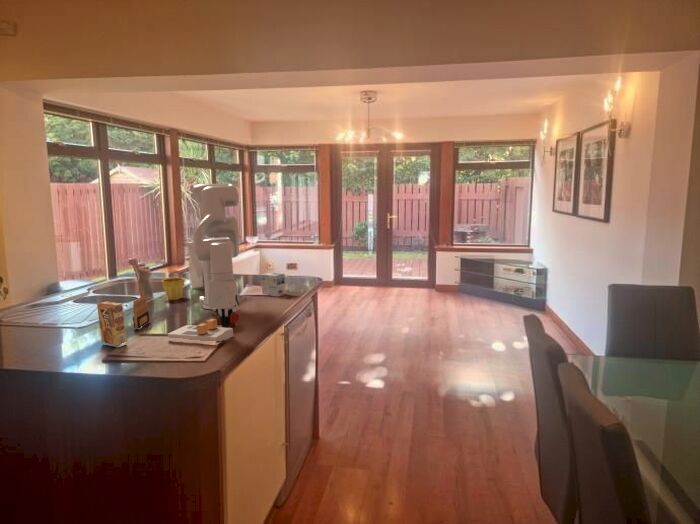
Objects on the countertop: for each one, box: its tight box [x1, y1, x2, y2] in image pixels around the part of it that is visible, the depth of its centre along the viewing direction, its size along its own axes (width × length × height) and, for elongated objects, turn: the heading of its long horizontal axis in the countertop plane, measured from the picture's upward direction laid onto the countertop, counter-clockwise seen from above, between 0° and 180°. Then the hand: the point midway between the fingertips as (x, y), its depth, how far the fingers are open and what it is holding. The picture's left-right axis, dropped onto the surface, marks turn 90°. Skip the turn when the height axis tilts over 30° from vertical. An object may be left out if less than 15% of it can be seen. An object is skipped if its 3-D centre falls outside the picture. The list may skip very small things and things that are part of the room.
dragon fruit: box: [214, 311, 240, 328], centre depth 188 cm, size 8×8×12 cm
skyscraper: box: [185, 237, 205, 290], centre depth 264 cm, size 8×8×28 cm
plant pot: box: [161, 277, 185, 301], centre depth 241 cm, size 10×10×10 cm
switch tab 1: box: [196, 322, 208, 334], centre depth 170 cm, size 2×3×3 cm
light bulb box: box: [260, 272, 287, 297], centre depth 242 cm, size 11×7×11 cm, turn 58°
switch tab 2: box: [205, 318, 218, 329], centre depth 176 cm, size 2×3×3 cm
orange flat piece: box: [132, 294, 150, 329], centre depth 192 cm, size 11×2×12 cm, turn 0°
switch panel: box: [167, 324, 234, 341], centre depth 174 cm, size 20×11×3 cm, turn 72°
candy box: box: [96, 301, 128, 345], centre depth 169 cm, size 9×4×15 cm, turn 61°
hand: (226, 326), depth 174 cm, fingers closed
